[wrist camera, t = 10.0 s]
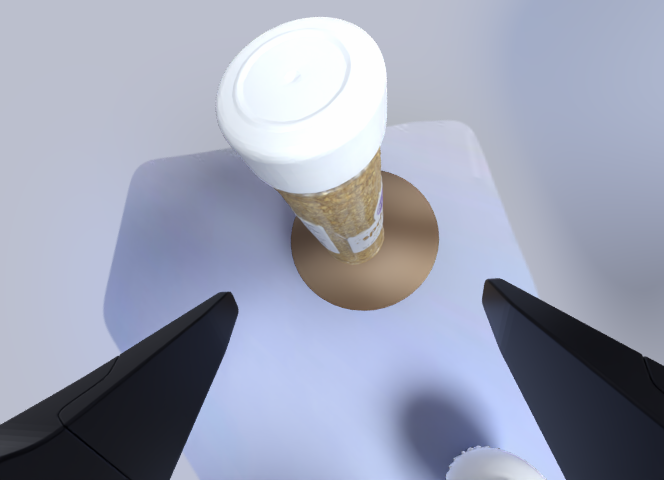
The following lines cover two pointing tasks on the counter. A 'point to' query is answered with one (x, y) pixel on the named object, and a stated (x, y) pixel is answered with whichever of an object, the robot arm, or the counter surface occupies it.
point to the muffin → (491, 466)
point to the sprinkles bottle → (314, 127)
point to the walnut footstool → (386, 266)
